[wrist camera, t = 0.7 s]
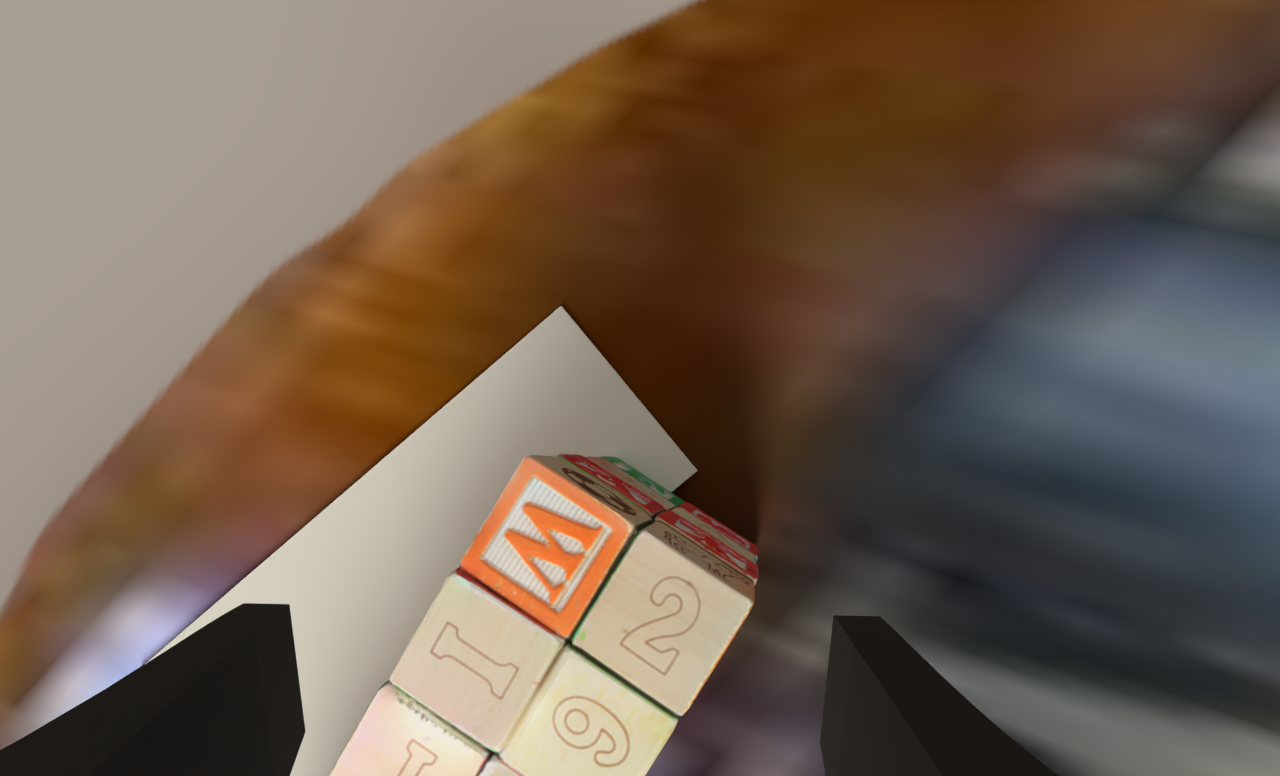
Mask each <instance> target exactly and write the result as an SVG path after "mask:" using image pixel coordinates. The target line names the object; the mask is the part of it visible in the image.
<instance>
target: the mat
mask: <svg viewBox="0 0 1280 776" xmlns="http://www.w3.org/2000/svg"><path fill="white" fill-rule="evenodd" d="M559 454H571V455H573V454H577V455H582V456H584V457H600V456H611V457H616V458H619V459H621V460H622V461H624V462H625V463H627V464H628V465H630V466H631V467H633V468H634V469H636V470H637V471H639V472H640V473H642V474H643V475H645V476H647V477H648V478H650V479H651V480H653V481H654V482H656V483H657V484H659V485H660V486H662V487H663V488H665V489H666V490H668V491H670V492H671V493H672V492H673V491H674V490H675V489H676V488H678V487H679V486H680V485H681V484H682V483H684V482H685V481H686V480H687V479H688V478H690V477H691V476H692V475H693V474H694V473H695V472H697V471H698V470H697V469H696V468H695V467H694V466H693V464H692V463H691V462H690V461H689V459H688V458H687V457H686V456H685V455H684V453H683V452H682V451H681V450H680V449H679V447H678V446H677V445H676V444H675V443H674V441H673V440H672V439H671V438H670V436H669V435H668V434H667V433H666V432H665V430H664V429H663V428H662V427H661V426H660V424H659V423H658V422H657V421H656V420H655V418H654V417H653V416H652V415H651V413H650V412H649V411H648V410H647V409H646V407H645V406H644V405H643V404H642V403H641V401H640V400H639V399H638V398H637V397H636V395H635V394H634V393H633V392H632V390H631V389H630V388H629V387H628V386H627V384H626V383H625V382H624V381H623V380H622V378H621V377H620V376H619V375H618V374H617V372H616V371H615V370H614V369H613V367H612V366H611V365H610V364H609V363H608V361H607V360H606V359H605V358H604V357H603V355H602V354H601V353H600V352H599V351H598V349H597V348H596V347H595V346H594V344H593V343H592V342H591V341H590V340H589V338H588V337H587V336H586V335H585V334H584V332H583V331H582V330H581V329H580V328H579V326H578V325H577V324H576V323H575V321H574V320H573V319H572V318H571V317H570V315H569V314H568V313H567V312H566V311H565V309H564V308H563V307H562V306H560V307H559V308H558V309H556V310H555V311H554V312H553V313H552V314H551V315H550V316H548V317H547V318H546V319H545V320H544V321H543V322H541V323H540V324H539V325H538V326H537V327H536V328H534V329H533V330H532V331H531V332H530V333H529V334H527V335H526V336H525V337H524V338H523V339H522V340H520V341H519V342H518V343H517V344H516V345H515V346H514V347H512V348H511V349H510V350H509V351H508V352H507V353H505V354H504V355H503V356H502V357H501V358H500V359H498V360H497V361H496V362H495V363H494V364H493V365H491V366H490V367H489V368H488V369H487V370H486V371H485V372H483V373H482V374H481V375H480V376H479V377H478V378H476V379H475V380H474V381H473V382H472V383H471V384H469V385H468V386H467V387H466V388H465V389H464V390H462V391H461V392H460V393H459V394H458V395H457V396H455V397H454V398H453V399H452V400H451V401H450V402H449V403H447V404H446V405H445V406H444V407H443V408H442V409H440V410H439V411H438V412H437V413H436V414H435V415H433V416H432V417H431V418H430V419H429V420H428V421H426V422H425V423H424V424H423V425H422V426H421V427H419V428H418V429H417V430H416V431H415V432H414V433H413V434H411V435H410V436H409V437H408V438H407V439H406V440H404V441H403V442H402V443H401V444H400V445H399V446H397V447H396V448H395V449H394V450H393V451H392V452H390V453H389V454H388V455H387V456H386V457H385V458H383V459H382V460H381V461H380V462H379V463H378V464H377V465H375V466H374V467H373V468H372V469H371V470H370V471H368V472H367V473H366V474H365V475H364V476H363V477H361V478H360V479H359V480H358V481H357V482H356V483H354V484H353V485H352V486H351V487H350V488H349V489H348V490H346V491H345V492H344V493H343V494H342V495H341V496H339V497H338V498H337V499H336V500H335V501H334V502H332V503H331V504H330V505H329V506H328V507H327V508H325V509H324V510H323V511H322V512H321V513H320V514H318V515H317V516H316V517H315V518H314V519H313V520H312V521H310V522H309V523H308V524H307V525H306V526H305V527H303V528H302V529H301V530H300V531H299V532H298V533H296V534H295V535H294V536H293V537H292V538H291V539H289V540H288V541H287V542H286V543H285V544H284V545H282V546H281V547H280V548H279V549H278V550H277V551H276V552H274V553H273V554H272V555H271V556H270V557H269V558H267V559H266V560H265V561H264V562H263V563H262V564H260V565H259V566H258V567H257V568H256V569H255V570H253V571H252V572H251V573H250V574H249V575H248V576H246V577H245V578H244V579H243V580H242V581H241V582H240V583H238V584H237V585H236V586H235V587H234V588H233V589H231V590H230V591H229V592H228V593H227V594H226V595H224V596H223V597H222V598H221V599H220V600H219V601H217V602H216V603H215V604H214V605H213V606H212V607H211V608H209V609H208V610H207V611H206V612H205V613H204V614H202V615H201V616H200V617H199V618H198V619H197V620H195V621H194V622H193V623H192V624H191V625H190V626H188V627H187V628H186V629H185V630H184V631H183V632H181V633H180V634H179V635H178V636H177V637H176V638H175V639H173V640H172V641H171V642H170V643H169V644H168V645H166V646H165V647H164V648H163V649H162V650H161V651H159V652H158V653H157V654H156V655H155V656H154V657H152V658H151V659H150V660H149V661H151V660H152V659H154V658H155V657H157V656H159V655H160V654H162V653H163V652H165V651H166V650H168V649H169V648H171V647H173V646H174V645H176V644H177V643H179V642H180V641H182V640H183V639H185V638H187V637H188V636H190V635H191V634H193V633H194V632H196V631H197V630H199V629H201V628H202V627H204V626H205V625H207V624H209V623H210V622H212V621H213V620H215V619H217V618H218V617H220V616H222V615H223V614H225V613H227V612H228V611H230V610H232V609H234V608H236V607H238V606H239V605H241V604H243V603H257V604H289V605H290V613H291V621H292V629H293V637H294V644H295V652H296V660H297V668H298V676H299V684H300V692H301V700H302V708H303V715H304V723H305V731H306V732H305V734H304V737H303V740H302V743H301V746H300V749H299V751H298V754H297V757H296V760H295V763H294V766H293V768H292V771H291V774H290V776H328V775H329V773H330V771H331V770H332V768H333V766H334V764H335V763H336V761H337V759H338V758H339V756H340V754H341V752H342V751H343V749H344V747H345V745H346V744H347V742H348V740H349V739H350V737H351V735H352V733H353V732H354V730H355V728H356V727H357V725H358V723H359V722H360V720H361V718H362V716H363V714H364V712H365V711H366V709H367V707H368V705H369V704H370V702H371V701H372V699H373V698H374V696H375V694H376V692H377V690H378V689H379V688H380V687H381V686H382V685H383V684H384V683H385V682H387V681H388V680H390V676H391V673H392V671H393V670H394V668H395V666H396V664H397V663H398V661H399V659H400V657H401V656H402V654H403V652H404V650H405V649H406V647H407V645H408V643H409V642H410V640H411V638H412V637H413V635H414V633H415V631H416V630H417V628H418V626H419V625H420V623H421V621H422V620H423V618H424V616H425V614H426V613H427V611H428V609H429V607H430V605H431V604H432V602H433V600H434V599H435V597H436V595H437V594H438V592H439V590H440V589H441V587H442V585H443V583H444V582H445V580H446V578H447V577H448V576H449V574H450V573H451V572H452V571H454V570H455V569H457V568H459V566H460V562H461V559H462V557H463V556H464V554H465V552H466V551H467V549H468V547H469V546H470V544H471V542H472V541H473V539H474V538H475V536H476V534H477V533H478V531H479V529H480V527H481V526H482V524H483V523H484V521H485V519H486V518H487V516H488V515H489V513H490V511H491V510H492V508H493V506H494V505H495V503H496V501H497V500H498V498H499V496H500V495H501V493H502V491H503V490H504V488H505V486H506V485H507V483H508V481H509V480H510V478H511V476H512V474H513V473H514V471H515V470H516V468H517V466H518V465H519V463H520V462H521V460H522V458H523V457H524V456H526V455H541V456H557V455H559ZM149 661H148V662H149ZM148 662H147V663H148ZM145 664H146V663H145Z"/></svg>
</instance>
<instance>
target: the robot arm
mask: <svg viewBox="0 0 1280 776" xmlns="http://www.w3.org/2000/svg"><path fill="white" fill-rule="evenodd" d="M305 732H306V731H305V723H304V715H303V708H302V700H301V692H300V684H299V676H298V668H297V660H296V652H295V644H294V637H293V629H292V621H291V613H290V605H289V604H257V603H243V604H241V605H239V606H238V607H236V608H234V609H232V610H230V611H228V612H227V613H225V614H223V615H222V616H220V617H218V618H217V619H215V620H213V621H212V622H210V623H209V624H207V625H205V626H204V627H202V628H201V629H199V630H197V631H196V632H194V633H193V634H191V635H190V636H188V637H187V638H185V639H183V640H182V641H180V642H179V643H177V644H176V645H174V646H173V647H171V648H169V649H168V650H166V651H165V652H163V653H162V654H160V655H159V656H157V657H155V658H154V659H152V660H151V661H149V662H148V663H146V664H144V665H143V666H141V667H140V668H138V669H137V670H135V671H133V672H132V673H130V674H129V675H127V676H126V677H124V678H122V679H121V680H119V681H118V682H116V683H114V684H113V685H111V686H110V687H108V688H107V689H105V690H103V691H102V692H100V693H98V694H97V695H95V696H93V697H92V698H90V699H88V700H86V701H85V702H83V703H81V704H80V705H78V706H76V707H75V708H73V709H71V710H69V711H68V712H66V713H64V714H63V715H61V716H59V717H58V718H56V719H54V720H52V721H51V722H49V723H47V724H46V725H44V726H42V727H41V728H39V729H37V730H35V731H34V732H32V733H30V734H29V735H27V736H25V737H24V738H22V739H20V740H18V741H16V742H15V743H13V744H11V745H9V746H7V747H5V748H4V749H2V750H0V776H290V774H291V771H292V768H293V766H294V763H295V760H296V757H297V754H298V751H299V749H300V746H301V743H302V740H303V737H304V734H305ZM820 744H821V750H822V756H823V762H824V768H825V774H826V776H1057V775H1056V774H1055V773H1053V772H1052V771H1051V770H1050V769H1048V768H1047V767H1046V766H1045V765H1043V764H1042V763H1041V762H1040V761H1038V760H1037V759H1036V758H1035V757H1033V756H1032V755H1031V754H1030V753H1029V752H1027V751H1026V750H1025V749H1024V748H1022V747H1021V746H1020V745H1019V744H1018V743H1016V742H1015V741H1014V740H1013V739H1011V738H1010V737H1009V736H1008V735H1007V734H1005V733H1004V732H1003V731H1002V730H1001V729H1000V728H998V727H997V726H996V725H995V724H994V723H993V722H992V721H990V720H989V719H988V718H987V717H986V716H985V715H984V714H982V713H981V712H980V711H979V710H978V709H977V708H976V707H975V706H973V705H972V704H971V703H970V702H969V701H968V700H967V699H966V698H965V697H964V696H963V695H961V694H960V693H959V692H958V691H957V690H956V689H955V688H954V687H953V686H952V685H951V684H950V683H949V682H947V681H946V680H945V679H944V678H943V677H942V676H941V675H940V674H939V673H938V672H937V671H936V670H935V669H934V668H933V667H932V666H931V665H930V664H929V663H928V662H927V661H926V660H925V659H924V658H922V657H921V656H920V655H919V654H918V653H917V652H916V651H915V650H914V649H913V648H912V647H911V646H910V645H909V644H908V643H907V642H906V641H905V640H904V639H903V638H902V637H901V636H900V635H899V634H898V633H897V632H896V631H895V630H894V629H893V628H892V627H891V626H890V625H889V624H887V623H886V622H885V621H884V620H883V619H882V618H881V617H878V616H834V617H833V626H832V636H831V645H830V655H829V664H828V673H827V683H826V692H825V702H824V711H823V721H822V730H821V740H820Z"/></svg>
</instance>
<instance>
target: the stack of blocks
mask: <svg viewBox="0 0 1280 776" xmlns="http://www.w3.org/2000/svg"><path fill="white" fill-rule="evenodd" d="M757 558H758V547H757V546H756V545H754V544H753V543H751V542H750V541H748V540H747V539H745V538H744V537H742V536H741V535H739V534H738V533H736V532H735V531H733V530H731V529H730V528H728V527H727V526H725V525H723V524H722V523H720V522H719V521H717V520H716V519H714V518H713V517H711V516H710V515H708V514H706V513H705V512H703V511H702V510H700V509H698V508H697V507H695V506H694V505H692V504H691V503H688V502H685V501H683V500H682V499H680V498H679V497H677V496H676V495H674V494H673V493H671V492H670V491H668V490H666V489H665V488H663V487H662V486H660V485H659V484H657V483H656V482H654V481H653V480H651V479H650V478H648V477H647V476H645V475H643V474H642V473H640V472H639V471H637V470H636V469H634V468H633V467H631V466H630V465H628V464H627V463H625V462H624V461H622V460H621V459H619V458H616V457H611V456H600V457H584V456H582V455H577V454H573V455H571V454H559V455H557V456H541V455H526V456H524V457H523V458H522V460H521V462H520V463H519V465H518V466H517V468H516V470H515V471H514V473H513V474H512V476H511V478H510V480H509V481H508V483H507V485H506V486H505V488H504V490H503V491H502V493H501V495H500V496H499V498H498V500H497V501H496V503H495V505H494V506H493V508H492V510H491V511H490V513H489V515H488V516H487V518H486V519H485V521H484V523H483V524H482V526H481V527H480V529H479V531H478V533H477V534H476V536H475V538H474V539H473V541H472V542H471V544H470V546H469V547H468V549H467V551H466V552H465V554H464V556H463V557H462V559H461V562H460V566H459V568H457V569H455V570H454V571H452V572H451V573H450V574H449V576H448V577H447V578H446V580H445V582H444V583H443V585H442V587H441V589H440V590H439V592H438V594H437V595H436V597H435V599H434V600H433V602H432V604H431V605H430V607H429V609H428V611H427V613H426V614H425V616H424V618H423V620H422V621H421V623H420V625H419V626H418V628H417V630H416V631H415V633H414V635H413V637H412V638H411V640H410V642H409V643H408V645H407V647H406V649H405V650H404V652H403V654H402V656H401V657H400V659H399V661H398V663H397V664H396V666H395V668H394V670H393V671H392V673H391V676H390V680H388V681H387V682H385V683H384V684H383V685H382V686H381V687H380V688H379V689H378V690H377V692H376V694H375V696H374V698H373V699H372V701H371V702H370V704H369V705H368V707H367V709H366V711H365V712H364V714H363V716H362V718H361V720H360V722H359V723H358V725H357V727H356V728H355V730H354V732H353V733H352V735H351V737H350V739H349V740H348V742H347V744H346V745H345V747H344V749H343V751H342V752H341V754H340V756H339V758H338V759H337V761H336V763H335V764H334V766H333V768H332V770H331V771H330V773H329V775H328V776H645V775H646V773H647V772H648V770H649V768H650V767H651V765H652V764H653V762H654V761H655V759H656V757H657V756H658V754H659V753H660V751H661V749H662V748H663V746H664V745H665V743H666V742H667V740H668V738H669V737H670V735H671V734H672V732H673V730H674V729H675V726H676V724H677V722H678V719H679V717H680V716H682V715H683V714H684V713H685V712H686V711H687V710H688V709H689V708H690V706H691V704H692V703H693V701H694V700H695V698H696V696H697V695H698V693H699V692H700V690H701V688H702V687H703V685H704V684H705V682H706V681H707V679H708V677H709V676H710V674H711V673H712V671H713V670H714V668H715V666H716V665H717V663H718V662H719V660H720V659H721V657H722V655H723V654H724V652H725V651H726V649H727V648H728V646H729V644H730V643H731V641H732V640H733V638H734V636H735V635H736V633H737V632H738V630H739V628H740V627H741V625H742V624H743V622H744V620H745V619H746V617H747V616H748V614H749V612H750V610H751V608H752V606H753V605H754V600H755V597H754V594H755V591H754V586H755V584H756V582H757V578H758V566H757V565H756V561H757Z"/></svg>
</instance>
